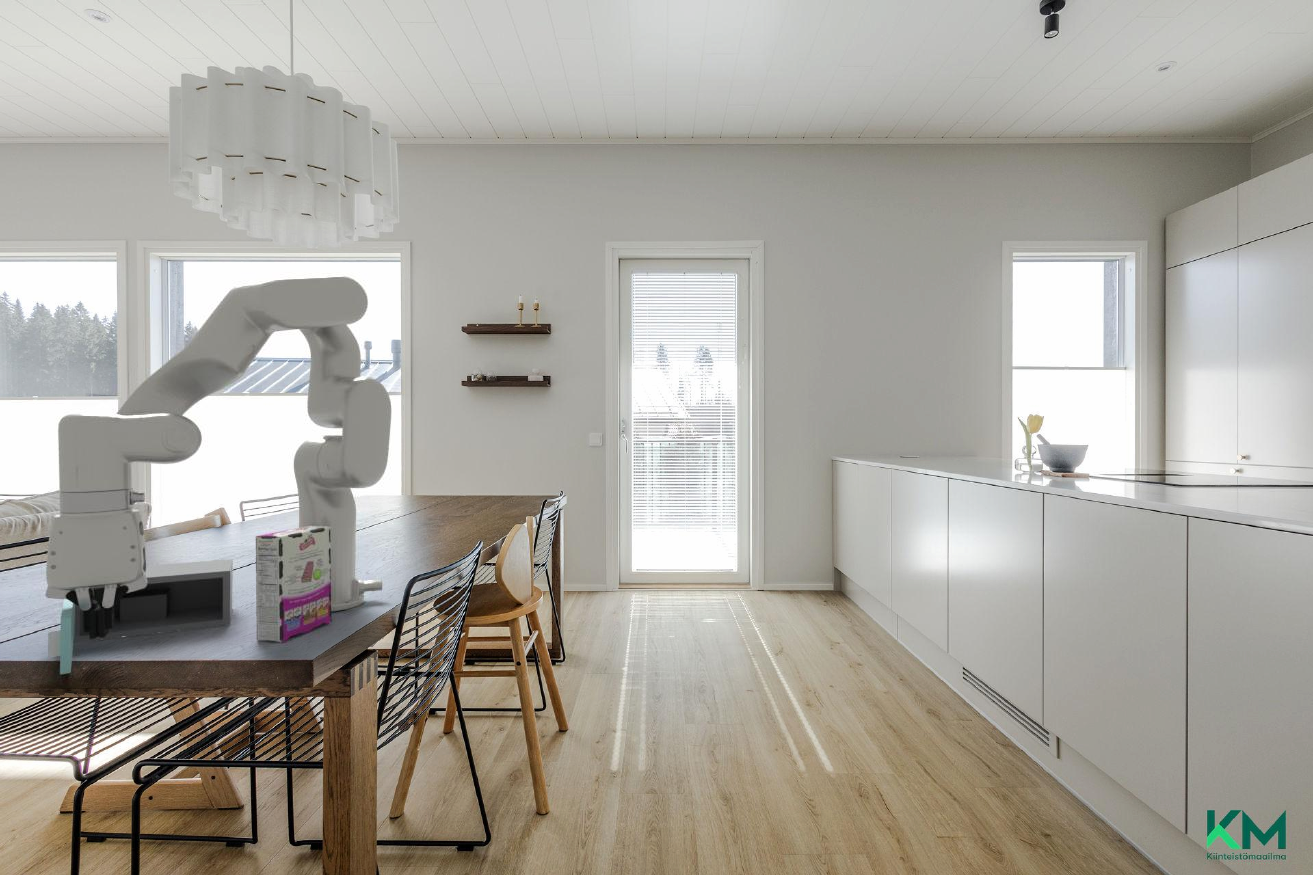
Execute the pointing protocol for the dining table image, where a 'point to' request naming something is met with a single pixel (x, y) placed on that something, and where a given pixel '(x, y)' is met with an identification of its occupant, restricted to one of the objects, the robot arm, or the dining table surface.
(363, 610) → the dining table surface
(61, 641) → the side door
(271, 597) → the candy bar box
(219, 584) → the case
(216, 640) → the dining table surface
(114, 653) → the dining table surface
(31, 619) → the dining table surface
